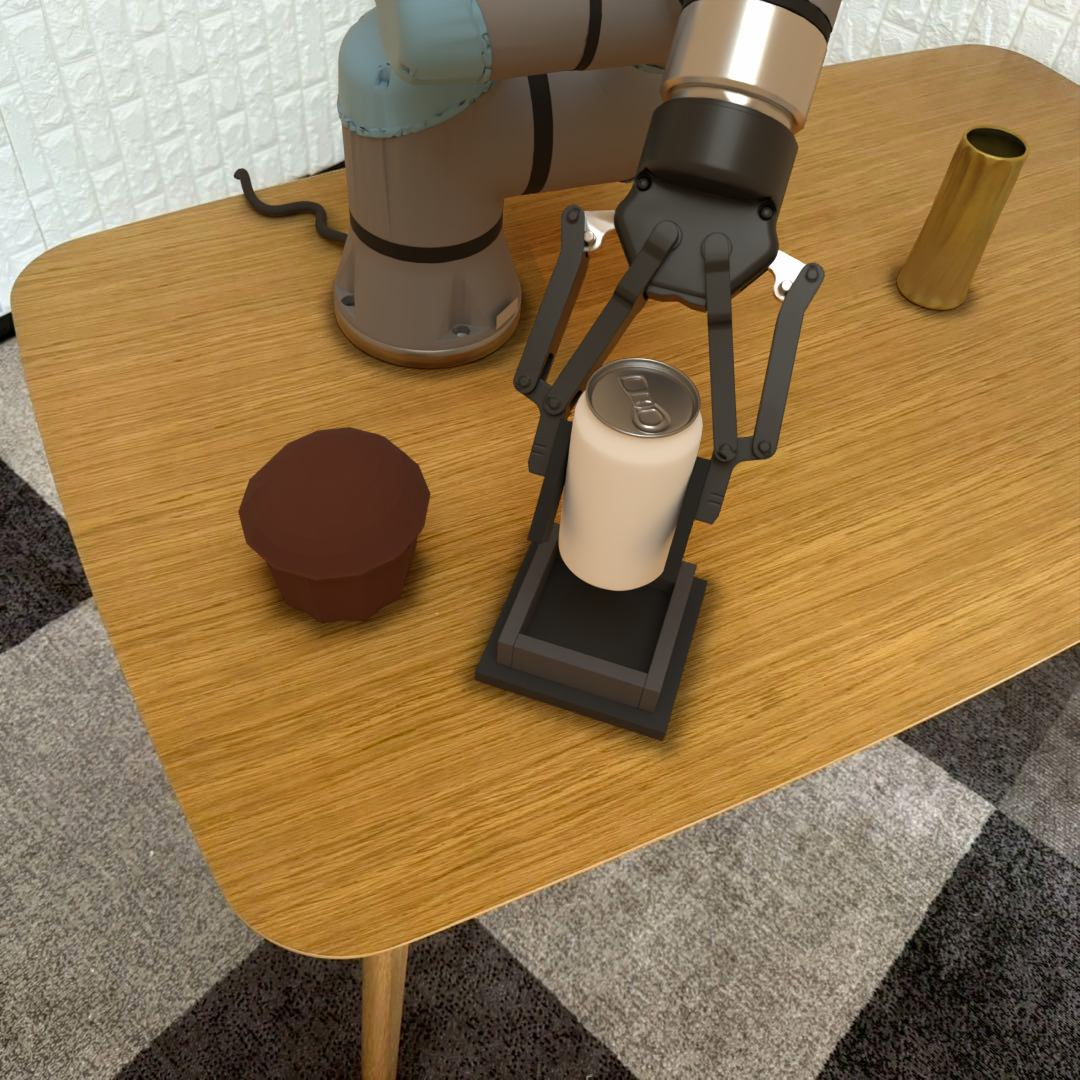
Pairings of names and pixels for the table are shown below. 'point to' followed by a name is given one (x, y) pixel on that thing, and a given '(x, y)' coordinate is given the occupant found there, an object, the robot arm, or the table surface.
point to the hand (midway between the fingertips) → (603, 558)
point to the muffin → (337, 521)
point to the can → (628, 471)
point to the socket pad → (594, 642)
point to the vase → (963, 217)
